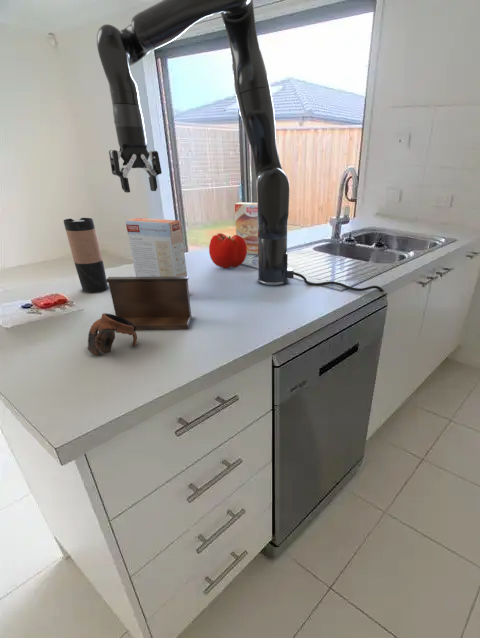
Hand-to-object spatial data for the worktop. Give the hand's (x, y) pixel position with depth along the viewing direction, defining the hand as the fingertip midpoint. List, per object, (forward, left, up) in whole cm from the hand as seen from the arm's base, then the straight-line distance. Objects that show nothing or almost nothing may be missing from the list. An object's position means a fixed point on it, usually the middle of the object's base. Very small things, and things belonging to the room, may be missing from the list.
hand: (140, 191), depth 109 cm
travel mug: (+16, +9, -27) cm, 32 cm away
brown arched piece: (-2, +51, -27) cm, 58 cm away
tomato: (-24, -17, -27) cm, 40 cm away
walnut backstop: (-7, +38, -27) cm, 47 cm away
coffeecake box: (-34, -40, -27) cm, 59 cm away
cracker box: (-6, +15, -27) cm, 31 cm away
